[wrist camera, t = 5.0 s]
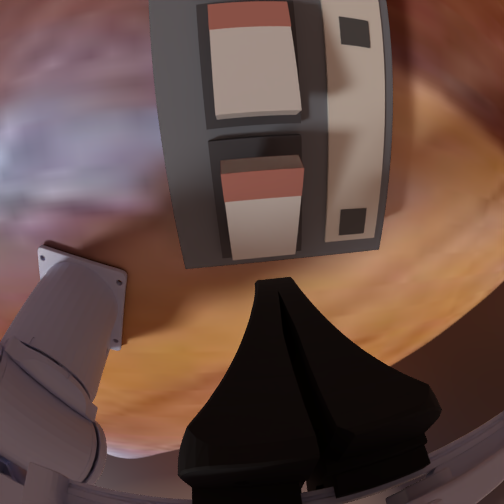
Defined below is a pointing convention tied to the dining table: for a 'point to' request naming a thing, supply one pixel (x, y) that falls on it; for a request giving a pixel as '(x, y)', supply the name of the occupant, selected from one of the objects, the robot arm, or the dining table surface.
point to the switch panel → (280, 126)
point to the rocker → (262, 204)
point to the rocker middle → (253, 59)
